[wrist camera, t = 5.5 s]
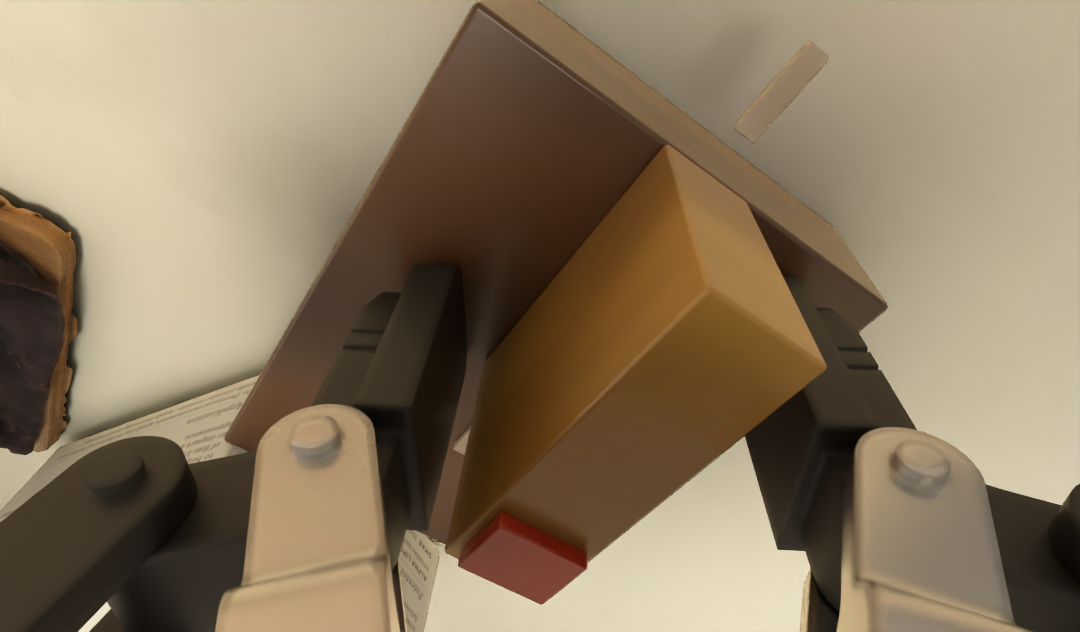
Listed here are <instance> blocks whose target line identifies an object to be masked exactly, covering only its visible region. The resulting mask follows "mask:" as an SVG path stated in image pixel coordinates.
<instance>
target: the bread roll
mask: <svg viewBox="0 0 1080 632" xmlns="http://www.w3.org/2000/svg"><path fill="white" fill-rule="evenodd" d="M75 267H76V253H75V243H74V241H73V240H72V239H71V231H70V232H67V233H66V232H64V231H63V230H62V229H60V228H59V227H57V226H56V225H54V224H53V223H52V222H50V221H49V220H46V219H44V218H43V217H42V215H41V214H39V213H36V212H33V211H30V210H27V209H24V208H16V207H14V206H13V205H11V204H10V203H9V201H8V200H7V199H6V198H4V197H3V196H1V195H0V448H7V449H9V450H10V452H12V453H14V454H22V455H27V454H29V453H31V452H32V451H36V452H40V451H44V450H47V449H48V448H49V447H50V446H51V445H53V444H54V443H55V442H56V441H57V440H58V439H59V436H60V432H61V431H62V430H63V429H64V428H65V427H66V425H67V423H66V422H65V421H64V420H63V416H65V415H66V414H63V413H64V412H65V411H66V409H65V407H64V404H65V403H66V397H65V396H64V395H65V394H66V392H67V391H68V389H69V386H70V382H71V378H72V369H71V368H69V367H67V366H66V361H67V356H68V344H69V343H70V342H71V341H72V340H73V339H74V338H75V337H76V336H77V319H76V318H75V317H74V315H73V314H72V312H71V309H72V307H73V299H72V298H73V286H74V285H73V275H74V270H75Z"/></svg>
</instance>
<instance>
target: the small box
mask: <svg viewBox="0 0 1080 632" xmlns="http://www.w3.org/2000/svg"><path fill="white" fill-rule="evenodd" d="M259 376H260V375H258V376H255V377H252V378H250V379H247V380H244V381H241V382H238V383H235V384H233V385H230V386H227V387H224V388H221V389H219V390H216V391H213V392H210V393H208V394H205V395H202V396H199V397H197V398H194V399H191V400H189V401H186V402H183V403H180V404H178V405H175V406H172V407H169V408H166V409H164V410H161V411H158V412H155V413H152V414H150V415H147V416H144V417H141V418H138V419H136V420H133V421H130V422H127V423H125V424H122V425H120V426H117V427H114V428H111V429H108V430H105V431H103V432H100V433H97V434H95V435H92V436H89V437H86V438H84V439H81V440H78V441H75V442H73V443H70V444H67V445H64V446H61V447H60V448H59V449H57V450H56V451H55V453H54V454H53V455H52V456H51V457H50V458H49V459H48V460H47V462H46V463H45V464H44V465H43V466H42V467H41V468H40V469H39V470H38V471H37V473H36V474H35V475H34V476H33V477H32V478H31V479H30V480H29V481H28V482H27V483H26V485H25V486H24V487H23V488H22V489H21V490H20V491H19V492H18V493H17V494H16V495H15V496H14V497H13V498H12V499H11V500H10V502H9V503H8V504H7V505H6V506H5V507H4V508H3V509H2V510H1V511H0V522H1V521H3V520H4V519H5V518H6V517H8V516H9V515H10V514H11V513H12V512H14V511H15V510H16V509H17V508H19V507H20V506H21V505H22V504H24V503H25V502H26V501H27V500H29V499H30V498H31V497H32V496H34V495H35V494H36V493H37V492H39V491H40V490H41V489H42V488H44V487H45V486H46V485H47V484H48V483H50V482H51V481H52V480H53V479H55V478H56V477H57V476H58V475H60V474H61V473H62V472H63V471H65V470H66V469H67V468H68V467H70V466H71V465H72V464H73V463H75V462H76V461H78V460H79V459H80V458H82V457H83V456H85V455H87V454H88V453H90V452H92V451H94V450H96V449H98V448H100V447H102V446H104V445H107V444H110V443H112V442H115V441H119V440H122V439H126V438H131V437H137V436H158V437H163V438H167V439H169V440H172V441H174V442H175V443H177V444H178V445H179V446H180V447H181V449H182V450H183V453H184V455H185V457H186V460H187V462H188V464H191V463H196V462H201V461H206V460H212V459H217V458H222V457H227V456H232V455H237V454H242V453H246V452H247V451H246V450H244V449H242V448H240V447H238V446H234V445H231V444H229V443H227V442H226V441H225V435H226V433H227V431H228V430H229V428H230V426H231V425H232V423H233V421H234V419H235V418H236V416H237V414H238V412H239V411H240V409H241V407H242V405H243V404H244V402H245V400H246V398H247V397H248V395H249V393H250V392H251V390H252V388H253V386H254V385H255V383H256V381H257V379H258V378H259ZM398 562H399V567H400V575H401V584H402V592H403V601H404V609H405V618H406V627H407V632H424V628H425V623H426V619H427V614H428V609H429V604H430V598H431V594H432V589H433V584H434V580H435V576H436V571H437V566H438V562H439V551H438V550H437V548H436V547H435V546H434V544H433V543H432V542H431V541H430V539H429V538H428V537H427V536H426V535H424V534H422V533H420V532H418V531H416V530H406V533H405V536H404V540H403V544H402V547H401V551H400V555H399V558H398ZM110 609H111V608H110V606H109V605H108V603H107V602H106V603H105V604H104V605H103V606H102V607H101V608H100V609H99V610H98V611H97V612H96V613H95V615H94V616H93V617H92V618H91V619H90V620H89V621H88V622H87V623H86V624H85V625H84V626H83V627H82V628H81V629H80V630H79V631H78V632H89V631H90V630H91V629H92V628H93V627H94V626H95V625H96V624H97V623H98V622H99V621H100V620H101V619H102V618H103V617H104V615H105V614H106V613H107V612H108V611H109V610H110Z"/></svg>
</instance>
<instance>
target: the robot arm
mask: <svg viewBox="0 0 1080 632" xmlns="http://www.w3.org/2000/svg"><path fill="white" fill-rule="evenodd" d="M783 278H784V280H785V282H786V284H787V286H788V288H789V290H790V292H791V294H792V296H793V298H794V300H795V302H796V304H797V306H798V308H799V310H800V313H801V315H802V317H803V319H804V321H805V323H806V325H807V327H808V329H809V331H810V333H811V335H812V337H813V339H814V341H815V343H816V345H817V347H818V349H819V351H820V353H821V355H822V357H823V359H824V361H825V363H826V365H827V367H826V370H825V371H824V372H823V373H822V374H820V375H819V376H818V377H817V378H815V379H814V380H813V381H812V382H811V383H809V384H808V385H807V386H806V387H804V388H803V389H802V390H801V391H799V392H798V393H797V394H796V395H794V396H793V397H792V398H791V399H789V400H788V401H787V402H786V403H785V404H783V405H782V406H781V407H780V408H778V409H777V410H776V411H775V412H773V413H772V414H771V415H770V416H768V417H767V418H766V419H765V420H764V421H762V422H761V423H760V424H759V425H757V426H756V427H755V428H754V429H752V430H751V431H750V432H749V433H747V434H746V435H745V438H746V441H747V445H748V448H749V452H750V455H751V459H752V462H753V466H754V469H755V473H756V476H757V480H758V483H759V487H760V490H761V494H762V497H763V501H764V504H765V507H766V511H767V514H768V518H769V521H770V525H771V528H772V532H773V535H774V539H775V542H776V546H777V549H778V550H797V551H805V552H806V555H807V558H808V561H809V564H810V570H809V572H808V575H807V578H806V580H805V583H804V588H803V598H802V611H801V624H800V632H1080V484H1079V485H1077V486H1076V487H1075V488H1074V489H1073V490H1072V491H1071V493H1070V494H1069V496H1068V497H1067V499H1066V500H1065V502H1064V503H1063V505H1062V506H1061V505H1058V504H1054V503H1050V502H1046V501H1043V500H1039V499H1035V498H1031V497H1028V496H1024V495H1020V494H1017V493H1013V492H1009V491H1005V490H1002V489H998V488H995V487H992V486H989V485H986V484H985V482H984V479H983V476H982V475H981V473H980V471H979V470H978V468H977V467H976V466H975V465H974V463H973V462H972V461H971V460H970V459H969V458H968V457H967V456H966V455H964V454H963V453H962V452H960V451H959V450H958V449H957V448H955V447H953V446H952V445H950V444H949V443H947V442H945V441H943V440H941V439H939V438H937V437H935V436H932V435H930V434H927V433H924V432H921V431H917V429H916V428H915V426H914V424H913V423H912V421H911V419H910V418H909V416H908V414H907V413H906V411H905V409H904V408H903V406H902V404H901V403H900V401H899V399H898V398H897V396H896V394H895V393H894V391H893V389H892V388H891V386H890V384H889V383H888V381H887V379H886V378H885V376H884V374H883V373H882V371H881V370H878V364H877V363H876V361H875V359H874V358H873V356H872V354H871V353H870V352H867V346H866V344H865V343H864V341H863V340H862V338H861V336H860V335H859V333H858V331H857V330H856V328H855V326H853V325H852V324H851V323H850V322H848V321H847V320H846V319H844V318H843V317H842V316H840V315H839V314H838V313H837V312H835V311H834V310H833V309H831V308H828V307H815V305H814V304H813V302H812V300H811V298H810V296H809V294H808V292H807V291H806V289H805V287H804V285H803V283H802V281H801V280H800V278H799V277H797V276H783ZM342 346H343V347H342V349H340V351H339V353H338V355H337V356H336V358H335V360H334V362H333V364H332V366H331V368H330V370H329V372H328V374H327V376H326V378H325V380H324V382H323V384H322V386H321V387H320V389H319V391H318V393H317V395H316V397H315V399H314V401H313V403H312V405H311V407H307V408H304V409H301V410H298V411H295V412H293V413H291V414H289V415H287V416H285V417H284V418H282V419H280V420H279V421H278V422H276V423H275V424H274V425H273V426H272V427H271V428H270V429H269V430H268V431H267V432H266V433H265V434H264V436H263V437H262V438H261V441H260V443H259V445H258V448H257V449H256V450H253V451H250V452H246V453H242V454H237V455H232V456H227V457H222V458H217V459H212V460H206V461H201V462H196V463H191V464H188V462H187V460H186V457H185V455H184V453H183V450H182V449H181V447H180V446H179V445H178V444H177V443H175V442H174V441H172V440H169V439H167V438H163V437H158V436H137V437H131V438H126V439H122V440H119V441H115V442H112V443H110V444H107V445H104V446H102V447H100V448H98V449H96V450H94V451H92V452H90V453H88V454H87V455H85V456H83V457H82V458H80V459H79V460H78V461H76V462H75V463H73V464H72V465H71V466H70V467H68V468H67V469H66V470H65V471H63V472H62V473H61V474H60V475H58V476H57V477H56V478H55V479H53V480H52V481H51V482H50V483H48V484H47V485H46V486H45V487H44V488H42V489H41V490H40V491H39V492H37V493H36V494H35V495H34V496H32V497H31V498H30V499H29V500H27V501H26V502H25V503H24V504H22V505H21V506H20V507H19V508H17V509H16V510H15V511H14V512H12V513H11V514H10V515H9V516H8V517H6V518H5V519H4V520H3V521H1V522H0V632H78V631H79V630H80V629H81V628H82V627H83V626H84V625H85V624H86V623H87V622H88V621H89V620H90V619H91V618H92V617H93V616H94V615H95V613H96V612H97V611H98V610H99V609H100V608H101V607H102V606H103V605H104V604H105V603H106V602H107V603H108V605H109V606H110V608H111V609H110V610H109V611H108V612H107V613H106V614H105V615H104V617H103V618H102V619H101V620H100V621H99V622H98V623H97V624H96V625H95V626H94V627H93V628H92V629H91V630H90V631H89V632H407V627H406V618H405V609H404V601H403V592H402V584H401V575H400V567H399V562H398V558H399V555H400V551H401V547H402V544H403V540H404V536H405V533H406V530H417V531H428V529H429V525H430V521H431V516H432V512H433V508H434V504H435V500H436V495H437V491H438V487H439V483H440V479H441V475H442V470H443V466H444V462H445V458H446V454H447V449H448V445H449V441H450V437H451V433H452V429H453V424H454V420H455V416H456V412H457V408H458V403H459V399H460V395H461V391H462V387H463V383H464V378H465V373H466V364H467V334H466V320H465V306H464V292H463V278H462V271H461V267H460V266H459V265H440V264H415V265H414V266H413V268H412V270H411V272H410V275H409V277H408V279H407V282H406V284H405V286H404V288H403V291H402V293H398V292H382V293H381V294H379V295H378V296H377V297H376V298H374V299H373V300H372V301H370V302H369V303H368V304H367V305H365V306H364V307H363V308H361V310H360V312H359V314H358V316H357V318H356V320H355V322H354V324H353V326H352V327H351V333H348V335H347V337H346V339H345V341H344V343H343V345H342Z"/></svg>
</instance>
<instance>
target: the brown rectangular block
mask: <svg viewBox="0 0 1080 632" xmlns="http://www.w3.org/2000/svg"><path fill="white" fill-rule="evenodd" d="M829 60H830V57H829V56H828V55H826V54H825V53H824V52H823V51H822V50H821V49H820V48H818V47H817V46H816V45H815V44H814V43H813V42H811V41H810V40H808V41H807V42H806V43H805V44H804V45H803V46H802V48H801V49H800V50H799V51H798V52H797V53H796V54H795V56H794V57H793V58H792V59H791V60H790V61H789V62H788V64H787V65H786V66H785V67H784V68H783V69H782V70H781V72H780V73H779V74H778V75H777V76H776V77H775V78H774V80H773V81H772V82H771V83H770V84H769V85H768V86H767V88H766V89H765V90H764V91H763V92H762V93H761V94H760V96H759V97H758V98H757V99H756V100H755V101H754V102H753V104H752V105H751V106H750V107H749V108H748V109H747V110H746V112H745V113H744V114H743V115H742V116H741V117H740V118H739V120H738V121H737V122H736V123H735V124H734V125H733V127H734V129H735V130H736V131H737V132H739V133H740V134H741V135H742V136H744V137H745V138H746V139H748V140H749V141H750V142H751V143H754V142H755V141H756V140H757V139H758V138H759V137H760V136H761V135H762V134H763V132H764V131H765V130H766V129H767V128H768V127H769V126H770V125H771V124H772V123H773V121H774V120H775V119H776V118H777V117H778V116H779V115H780V114H781V113H782V112H783V110H784V109H785V108H786V107H787V106H788V105H789V104H790V103H791V102H792V101H793V99H794V98H795V97H796V96H797V95H798V94H799V93H800V92H801V91H802V90H803V88H804V87H805V86H806V85H807V84H808V83H809V82H810V81H811V80H812V79H813V77H814V76H815V75H816V74H817V73H818V72H819V71H820V70H821V69H822V68H823V66H824V65H825V64H826V63H827V62H828V61H829ZM665 145H670V146H671V147H672V148H674V149H675V150H676V151H678V152H679V153H681V154H682V155H683V156H685V157H686V158H687V159H689V160H690V161H691V162H693V163H694V164H695V165H697V166H698V167H699V168H701V169H702V170H704V171H705V172H706V173H708V174H709V175H710V176H712V177H713V178H714V179H716V180H717V181H718V182H720V183H721V184H722V185H724V186H725V187H727V188H728V189H729V190H731V191H732V192H733V193H735V194H736V195H737V196H739V197H740V198H741V199H743V200H744V201H745V202H746V203H747V205H748V207H749V209H750V211H751V213H752V215H753V217H754V219H755V221H756V223H757V225H758V227H759V229H760V231H761V233H762V235H763V237H764V239H765V241H766V243H767V245H768V247H769V249H770V251H771V253H772V255H773V258H774V260H775V262H776V264H777V266H778V268H779V270H780V272H781V274H782V276H797V277H799V278H800V280H801V281H802V283H803V285H804V287H805V289H806V291H807V292H808V294H809V296H810V298H811V300H812V302H813V304H814V305H815V307H828V308H831V309H833V310H834V311H835V312H837V313H838V314H839V315H840V316H842V317H843V318H844V319H846V320H847V321H848V322H850V323H851V324H852V325H853V326H855V328H856V330H857V331H858V333H859V332H860V331H861V330H862V329H864V328H865V327H866V326H867V325H868V324H870V323H871V322H872V321H873V320H875V319H876V318H877V317H878V316H879V315H881V314H882V313H883V312H884V311H886V309H887V308H888V305H887V303H886V301H885V300H884V298H883V297H882V296H881V294H880V293H879V291H878V290H877V288H876V287H875V286H874V284H873V283H872V281H871V280H870V279H869V277H868V276H867V274H866V273H865V271H864V270H863V269H862V267H861V266H860V264H859V263H858V261H857V260H856V259H855V257H854V256H853V254H852V253H851V252H850V250H849V249H848V247H847V246H846V244H845V243H844V242H843V240H842V239H841V237H840V236H839V234H838V233H837V232H836V230H835V229H834V227H833V226H832V225H830V224H829V223H828V222H826V221H825V220H824V219H822V218H821V217H820V216H819V215H817V214H816V213H815V212H813V211H812V210H811V209H809V208H808V207H807V206H805V205H804V204H803V203H801V202H800V201H799V200H798V199H796V198H795V197H794V196H792V195H791V194H790V193H788V192H787V191H786V190H784V189H783V188H782V187H781V186H779V185H778V184H777V183H775V182H774V181H773V180H771V179H770V178H769V177H767V176H766V175H765V174H763V173H762V172H761V171H760V170H758V169H757V168H756V167H754V166H753V165H752V164H750V163H749V162H748V161H746V160H745V159H744V158H743V157H741V156H740V155H739V154H737V153H736V152H735V151H733V150H732V149H731V148H729V147H728V146H727V145H725V144H724V143H723V142H722V141H720V140H719V139H718V138H716V137H715V136H714V135H712V134H711V133H710V132H708V131H707V130H706V129H705V128H703V127H702V126H701V125H699V124H698V123H697V122H695V121H694V120H693V119H691V118H690V117H689V116H687V115H686V114H685V113H684V112H682V111H681V110H680V109H678V108H677V107H676V106H674V105H673V104H672V103H670V102H669V101H668V100H667V99H665V98H664V97H663V96H661V95H660V94H659V93H657V92H656V91H655V90H653V89H652V88H651V87H649V86H648V85H647V84H646V83H644V82H643V81H642V80H640V79H639V78H638V77H636V76H635V75H634V74H632V73H631V72H630V71H629V70H627V69H626V68H625V67H623V66H622V65H621V64H619V63H618V62H617V61H615V60H614V59H613V58H611V57H610V56H609V55H608V54H606V53H605V52H604V51H602V50H601V49H600V48H598V47H597V46H596V45H594V44H593V43H592V42H591V41H589V40H588V39H587V38H585V37H584V36H583V35H581V34H580V33H579V32H577V31H576V30H575V29H573V28H572V27H571V26H570V25H568V24H567V23H566V22H564V21H563V20H562V19H560V18H559V17H558V16H556V15H555V14H554V13H553V12H551V11H550V10H549V9H547V8H546V7H545V6H543V5H542V4H541V3H539V2H538V1H537V0H477V1H476V2H475V3H474V4H473V6H472V8H471V9H470V11H469V13H468V15H467V16H466V18H465V20H464V21H463V23H462V25H461V27H460V28H459V30H458V32H457V34H456V35H455V37H454V39H453V41H452V42H451V44H450V46H449V48H448V49H447V51H446V53H445V54H444V56H443V58H442V60H441V61H440V63H439V65H438V67H437V68H436V70H435V72H434V74H433V75H432V77H431V79H430V81H429V82H428V84H427V86H426V88H425V89H424V91H423V93H422V94H421V96H420V98H419V100H418V101H417V103H416V105H415V107H414V108H413V110H412V112H411V114H410V115H409V117H408V119H407V121H406V122H405V124H404V126H403V127H402V129H401V131H400V133H399V134H398V136H397V138H396V140H395V141H394V143H393V145H392V147H391V148H390V150H389V152H388V154H387V155H386V157H385V159H384V160H383V162H382V164H381V166H380V167H379V169H378V171H377V173H376V174H375V176H374V178H373V180H372V181H371V183H370V185H369V187H368V188H367V190H366V192H365V193H364V195H363V197H362V199H361V200H360V202H359V204H358V206H357V207H356V209H355V211H354V213H353V214H352V216H351V218H350V220H349V221H348V223H347V225H346V226H345V228H344V230H343V232H342V233H341V235H340V237H339V239H338V240H337V242H336V244H335V246H334V247H333V249H332V251H331V253H330V254H329V256H328V258H327V259H326V261H325V263H324V265H323V266H322V268H321V270H320V272H319V273H318V275H317V277H316V279H315V280H314V282H313V284H312V286H311V287H310V289H309V291H308V292H307V294H306V296H305V298H304V299H303V301H302V303H301V305H300V306H299V308H298V310H297V312H296V313H295V315H294V317H293V319H292V320H291V322H290V324H289V325H288V327H287V329H286V331H285V332H284V334H283V336H282V338H281V339H280V341H279V343H278V345H277V346H276V348H275V350H274V352H273V353H272V355H271V357H270V358H269V360H268V362H267V364H266V365H265V367H264V369H263V371H262V372H261V374H260V376H259V378H258V379H257V381H256V383H255V385H254V386H253V388H252V390H251V392H250V393H249V395H248V397H247V398H246V400H245V402H244V404H243V405H242V407H241V409H240V411H239V412H238V414H237V416H236V418H235V419H234V421H233V423H232V425H231V426H230V428H229V430H228V431H227V433H226V435H225V441H226V442H227V443H229V444H231V445H234V446H238V447H240V448H242V449H244V450H246V451H247V452H250V451H253V450H256V449H257V448H258V445H259V443H260V441H261V438H262V437H263V436H264V434H265V433H266V432H267V431H268V430H269V429H270V428H271V427H272V426H273V425H274V424H275V423H276V422H278V421H279V420H280V419H282V418H284V417H285V416H287V415H289V414H291V413H293V412H295V411H298V410H301V409H304V408H307V407H311V405H312V403H313V401H314V399H315V397H316V395H317V393H318V391H319V389H320V387H321V386H322V384H323V382H324V380H325V378H326V376H327V374H328V372H329V370H330V368H331V366H332V364H333V362H334V360H335V358H336V356H337V355H338V353H339V351H340V349H342V347H343V346H342V345H343V343H344V341H345V339H346V337H347V335H348V333H351V327H352V326H353V324H354V322H355V320H356V318H357V316H358V314H359V312H360V310H361V308H363V307H364V306H365V305H367V304H368V303H369V302H370V301H372V300H373V299H374V298H376V297H377V296H378V295H379V294H381V293H382V292H398V293H402V291H403V288H404V286H405V284H406V282H407V279H408V277H409V275H410V272H411V270H412V268H413V266H414V265H415V264H440V265H459V266H460V267H461V271H462V278H463V292H464V306H465V320H466V334H467V364H466V373H465V378H464V383H463V387H462V391H461V395H460V399H459V403H458V408H457V412H456V416H455V420H454V424H453V429H452V433H451V437H450V441H449V445H448V449H447V454H446V458H445V462H444V466H443V470H442V475H441V479H440V483H439V487H438V491H437V495H436V500H435V504H434V508H433V512H432V516H431V521H430V525H429V529H428V531H418V532H420V533H422V534H424V535H426V536H429V537H431V538H433V539H435V540H437V541H439V542H441V543H444V544H446V542H447V537H448V532H449V527H450V523H451V518H452V513H453V508H454V504H455V499H456V494H457V489H458V484H459V480H460V475H461V470H462V465H463V461H464V456H465V451H466V446H467V442H468V437H469V432H470V427H471V422H472V418H473V413H474V408H475V403H476V399H477V394H478V389H479V384H480V380H481V375H482V370H483V365H484V362H485V361H486V360H487V359H488V358H489V356H490V355H491V354H492V353H493V352H494V350H495V349H496V348H497V347H498V346H499V344H500V343H501V342H502V341H503V340H504V338H505V337H506V336H507V335H508V334H509V332H510V331H511V330H512V329H513V327H514V326H515V325H516V324H517V323H518V321H519V320H520V319H521V318H522V317H523V315H524V314H525V313H526V312H527V311H528V309H529V308H530V307H531V306H532V305H533V303H534V302H535V301H536V300H537V299H538V297H539V296H540V295H541V294H542V292H543V291H544V290H545V289H546V288H547V286H548V285H549V284H550V283H551V282H552V280H553V279H554V278H555V277H556V276H557V274H558V273H559V272H560V271H561V270H562V268H563V267H564V266H565V265H566V264H567V262H568V261H569V260H570V259H571V257H572V256H573V255H574V254H575V253H576V251H577V250H578V249H579V248H580V247H581V245H582V244H583V243H584V242H585V241H586V239H587V238H588V237H589V236H590V235H591V233H592V232H593V231H594V230H595V229H596V227H597V226H598V225H599V224H600V222H601V221H602V220H603V219H604V218H605V216H606V215H607V214H608V213H609V212H610V210H611V209H612V208H613V207H614V206H615V204H616V203H617V202H618V201H619V200H620V198H621V197H622V196H623V195H624V194H625V192H626V191H627V190H628V189H629V188H630V186H631V185H632V184H633V183H634V181H635V180H636V179H637V178H638V177H639V175H640V174H641V173H642V172H643V171H644V169H645V168H646V167H647V166H648V165H649V163H650V162H651V161H652V160H653V159H654V157H655V156H656V155H657V154H658V153H659V151H660V150H661V149H662V148H663V147H664V146H665ZM416 531H417V530H416Z"/></svg>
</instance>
